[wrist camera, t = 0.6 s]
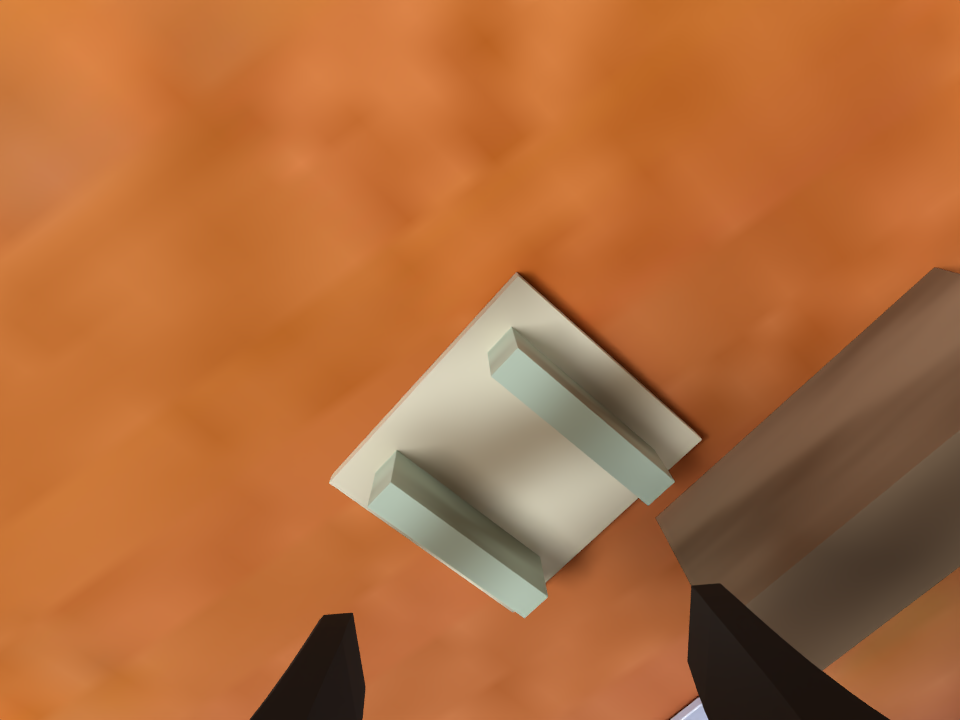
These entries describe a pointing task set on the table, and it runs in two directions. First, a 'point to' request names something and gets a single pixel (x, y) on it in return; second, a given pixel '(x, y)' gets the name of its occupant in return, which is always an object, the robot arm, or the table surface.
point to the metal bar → (841, 486)
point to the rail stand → (516, 449)
